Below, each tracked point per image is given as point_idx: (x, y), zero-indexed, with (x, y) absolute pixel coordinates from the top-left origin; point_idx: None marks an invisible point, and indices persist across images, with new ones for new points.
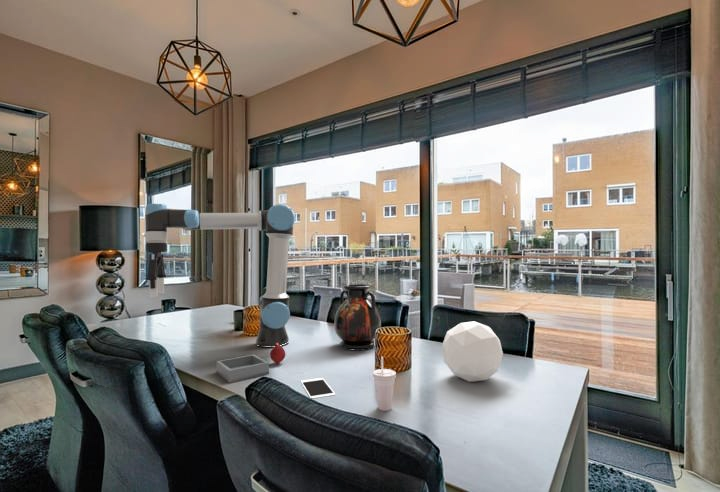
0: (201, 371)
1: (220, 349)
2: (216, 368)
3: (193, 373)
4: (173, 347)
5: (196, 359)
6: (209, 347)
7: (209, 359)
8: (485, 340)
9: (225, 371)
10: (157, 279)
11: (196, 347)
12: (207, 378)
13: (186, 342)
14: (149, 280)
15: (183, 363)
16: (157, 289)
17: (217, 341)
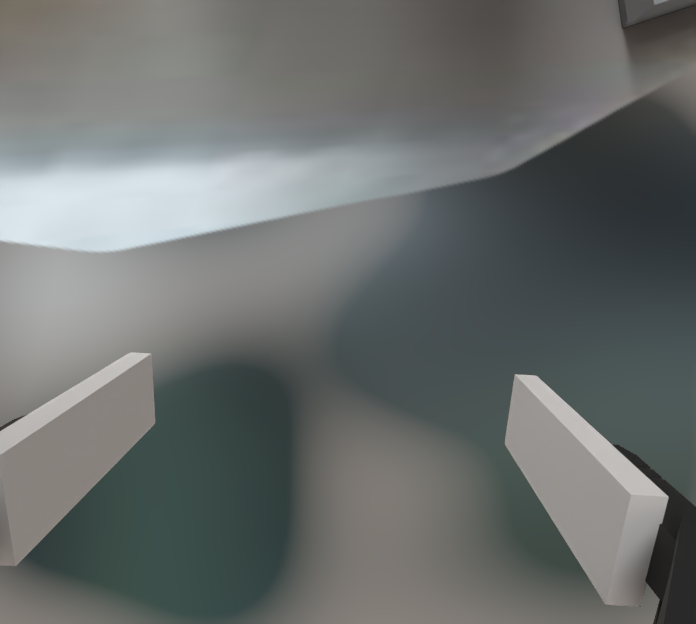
0: (573, 94)
1: (226, 10)
2: (632, 20)
3: (584, 125)
4: (106, 247)
5: (372, 125)
6: (163, 71)
7: (398, 64)
8: None
9: None
10: (35, 532)
11: (141, 138)
12: (683, 65)
13: (16, 195)
14: (640, 597)
15: (414, 177)
16: (128, 439)
17: (36, 28)
